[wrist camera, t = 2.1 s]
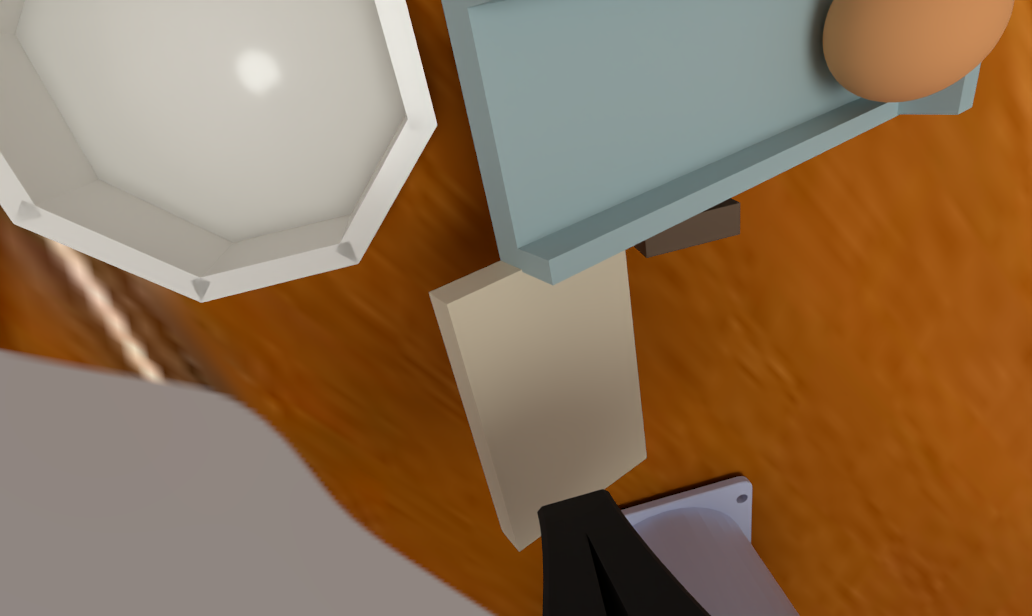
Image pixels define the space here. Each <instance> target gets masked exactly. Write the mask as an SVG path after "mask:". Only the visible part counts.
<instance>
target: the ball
mask: <svg viewBox="0 0 1032 616" xmlns="http://www.w3.org/2000/svg"><path fill="white" fill-rule="evenodd" d="M1013 5H1014V0H833V1H832V3H831V5H830V8H829V10H828V13H827V16H826V20H825V24H824V29H823V52H824V57H825V60H826V63H827V66H828V68H829V70H830V72H831V73H832V75H833V76H834V78H835V79H836V81H837V82H838V83H839V84H840V85H842V86H843V87H844V88H845V89H846V90H848V91H849V92H851V93H853V94H855V95H857V96H859V97H861V98H864V99H868V100H871V101H878V102H885V103H886V102H905V101H911V100H915V99H919V98H923V97H926V96H929V95H932V94H934V93H936V92H939V91H941V90H943V89H945V88H947V87H949V86H950V85H952V84H954V83H955V82H957V81H959V80H960V79H962V78H963V77H964V76H966V75H967V74H968V73H969V72H971V71H972V70H973V69H974V68H975V67H977V66H978V65H979V64H980V63H981V62H982V61H983V59H984V58H985V57H986V56H987V55H988V54H989V53H990V52H991V50H992V49H993V48H994V47H995V45H996V44H997V42H998V41H999V39H1000V37H1001V35H1002V34H1003V32H1004V30H1005V28H1006V26H1007V24H1008V21H1009V19H1010V16H1011V13H1012V9H1013Z"/></svg>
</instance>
